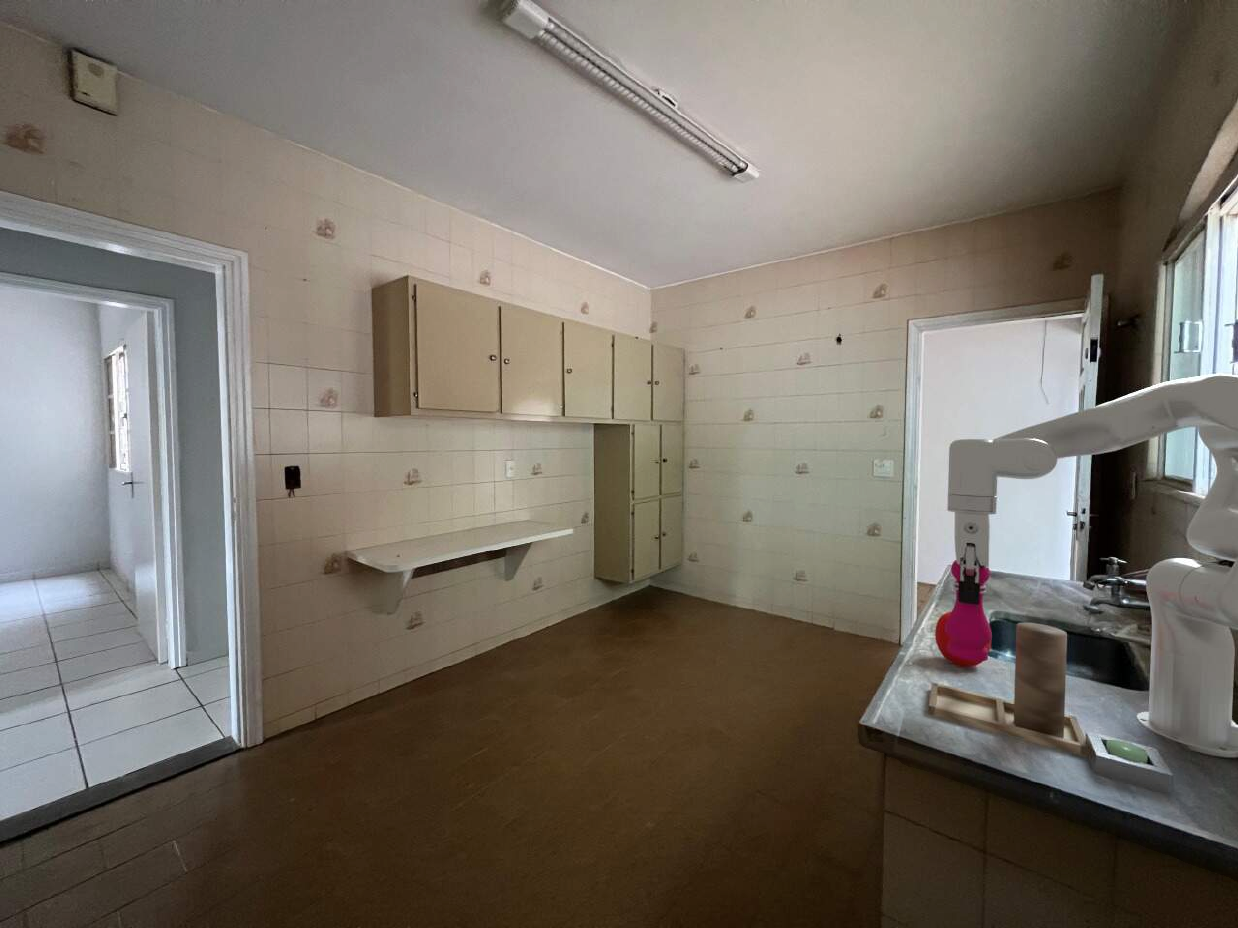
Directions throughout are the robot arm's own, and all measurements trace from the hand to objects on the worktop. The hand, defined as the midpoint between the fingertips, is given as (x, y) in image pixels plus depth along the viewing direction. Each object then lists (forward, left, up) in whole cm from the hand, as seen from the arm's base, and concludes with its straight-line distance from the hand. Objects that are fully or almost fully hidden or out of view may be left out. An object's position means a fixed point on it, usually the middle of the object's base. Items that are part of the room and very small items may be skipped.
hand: (968, 598), depth 93 cm
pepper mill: (0, +1, -11) cm, 11 cm away
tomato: (+1, -27, -23) cm, 35 cm away
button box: (-20, +7, -23) cm, 31 cm away
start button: (-20, +7, -22) cm, 31 cm away
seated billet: (-11, 0, -22) cm, 24 cm away
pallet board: (-5, 0, -23) cm, 23 cm away
